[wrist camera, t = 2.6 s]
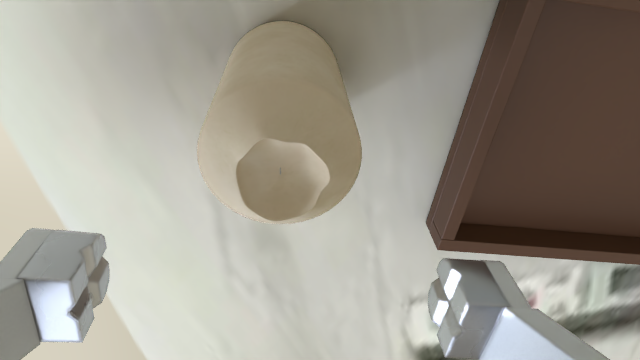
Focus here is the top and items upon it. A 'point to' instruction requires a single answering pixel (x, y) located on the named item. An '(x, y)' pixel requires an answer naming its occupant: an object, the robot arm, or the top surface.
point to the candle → (280, 128)
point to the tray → (549, 137)
